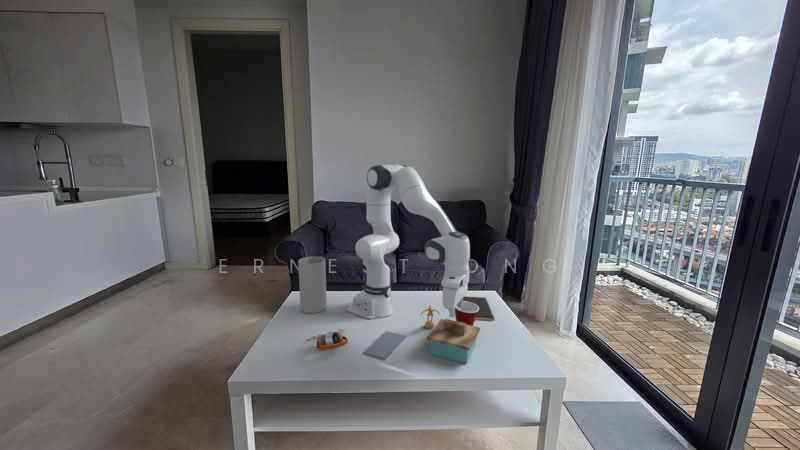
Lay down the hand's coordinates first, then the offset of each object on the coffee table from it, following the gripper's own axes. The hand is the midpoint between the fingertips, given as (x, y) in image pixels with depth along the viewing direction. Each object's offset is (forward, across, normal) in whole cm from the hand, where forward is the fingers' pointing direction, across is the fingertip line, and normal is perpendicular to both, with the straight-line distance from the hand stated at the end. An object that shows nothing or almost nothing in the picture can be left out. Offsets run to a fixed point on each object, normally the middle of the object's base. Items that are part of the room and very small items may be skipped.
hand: (455, 311), depth 121 cm
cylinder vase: (+15, -5, -74) cm, 75 cm away
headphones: (+16, +18, -46) cm, 52 cm away
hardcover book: (+17, -41, -3) cm, 45 cm away
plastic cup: (+17, -17, -1) cm, 24 cm away
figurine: (+16, -11, -15) cm, 25 cm away
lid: (+10, 0, 0) cm, 10 cm away
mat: (+16, +8, -21) cm, 27 cm away
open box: (+16, 0, -1) cm, 16 cm away
